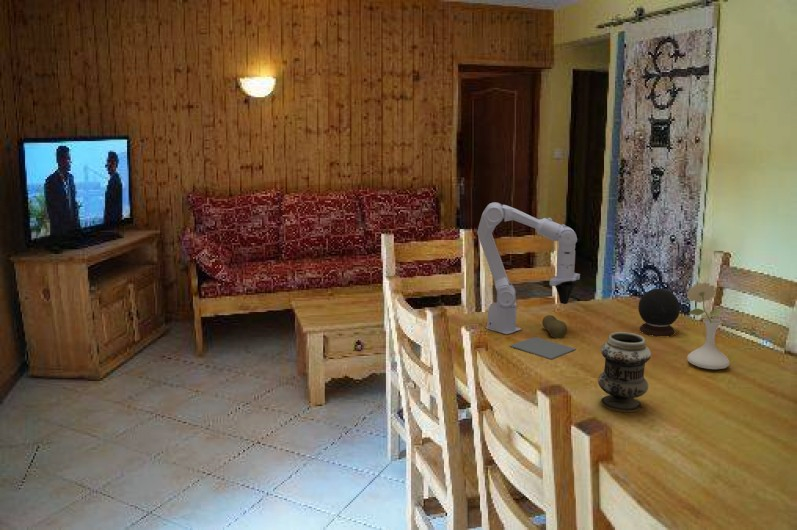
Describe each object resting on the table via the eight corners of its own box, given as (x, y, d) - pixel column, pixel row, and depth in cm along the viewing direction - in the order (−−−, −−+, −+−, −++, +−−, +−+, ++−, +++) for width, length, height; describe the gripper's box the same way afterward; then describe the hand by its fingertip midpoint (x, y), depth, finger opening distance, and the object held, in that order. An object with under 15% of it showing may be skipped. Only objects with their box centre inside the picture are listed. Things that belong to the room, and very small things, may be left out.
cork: (568, 336, 217) (557, 328, 228) (566, 319, 216) (555, 311, 227) (550, 340, 217) (541, 331, 228) (548, 322, 216) (538, 314, 227)
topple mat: (509, 346, 209) (509, 345, 209) (534, 337, 218) (534, 336, 218) (551, 359, 198) (551, 358, 197) (575, 349, 206) (575, 348, 206)
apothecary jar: (640, 418, 158) (646, 347, 154) (590, 407, 164) (595, 339, 160) (651, 401, 168) (656, 334, 164) (603, 391, 174) (608, 326, 170)
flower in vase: (728, 362, 195) (737, 280, 190) (729, 375, 185) (739, 289, 180) (681, 356, 200) (688, 276, 195) (679, 368, 190) (687, 285, 185)
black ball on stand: (681, 329, 226) (684, 287, 223) (673, 340, 215) (677, 296, 212) (641, 323, 233) (644, 282, 230) (632, 333, 222) (635, 290, 219)
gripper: (563, 269, 210) (561, 309, 213) (588, 262, 220) (586, 301, 223) (545, 265, 215) (543, 305, 218) (570, 259, 225) (568, 297, 228)
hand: (563, 303), depth 221 cm, fingers closed
